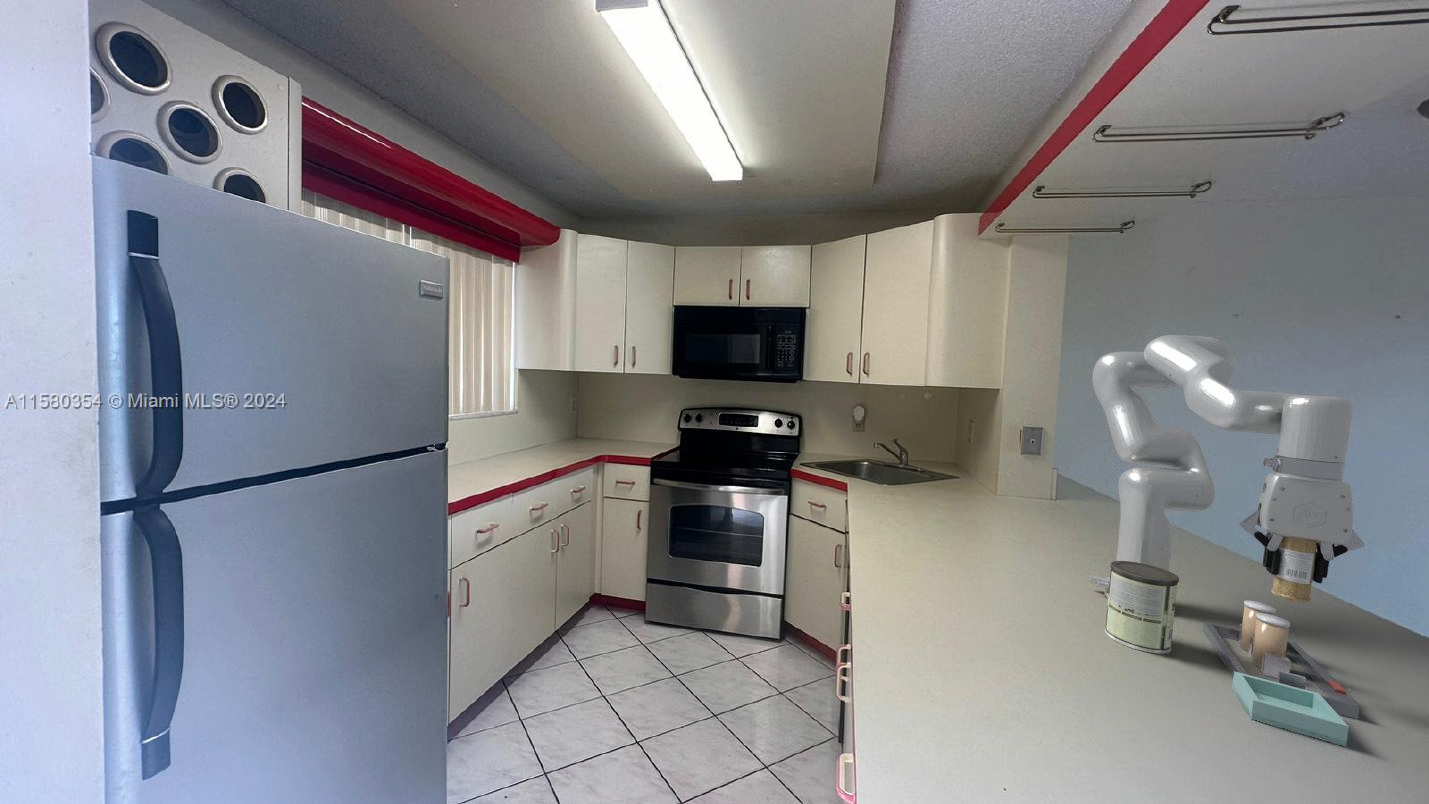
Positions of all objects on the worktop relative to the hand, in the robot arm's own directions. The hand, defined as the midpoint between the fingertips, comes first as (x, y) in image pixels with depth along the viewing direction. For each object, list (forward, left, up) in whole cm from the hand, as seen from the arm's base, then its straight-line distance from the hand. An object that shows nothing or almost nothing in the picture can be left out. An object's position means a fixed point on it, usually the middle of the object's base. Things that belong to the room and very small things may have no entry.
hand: (1293, 575), depth 88 cm
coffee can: (-19, +4, -19) cm, 27 cm away
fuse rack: (0, +6, -19) cm, 20 cm away
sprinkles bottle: (0, 0, -4) cm, 4 cm away
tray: (-3, -12, -19) cm, 23 cm away
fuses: (0, +10, -19) cm, 22 cm away
